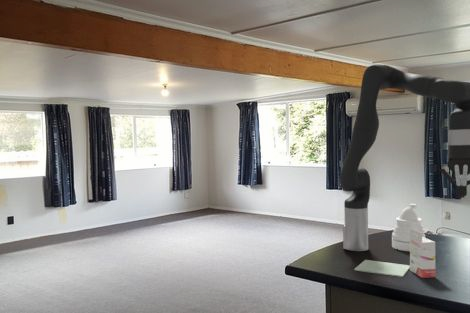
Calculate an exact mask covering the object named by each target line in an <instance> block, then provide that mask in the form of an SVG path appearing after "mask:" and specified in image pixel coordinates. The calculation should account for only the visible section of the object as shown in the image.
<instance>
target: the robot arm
mask: <svg viewBox="0 0 470 313" xmlns="http://www.w3.org/2000/svg"><path fill="white" fill-rule="evenodd" d="M385 89H386V90H388V89H389V90H390V89H399V90H404V91H407V92H411V93H413V94H415V95H418V96H422V97H426V98H430V99H431V98H432V99H438V100H441V101H444V102H446V103H447V102H448V103H450V104H454V108H453V111H452V112H450V114H449V116H448V135H447V136H448V138H447V141H448V142H447V144H448V151H447V152H448V161H447V163H446V165H445V166H444V167H442V168H440V170H439V171H440V172H441V174H442V175H443V177H445V178H446V180H447V181H448V182H449V183H450V184H451V185H455V186H456V196H458V198H460V199H462V198H465V196H467V193H468V187H467V186H469V185H470V179H469V180H468V178H469V175H470V82H469V81H461V80H453V79H444V78H441V77H439V76H434V75H433V76H432V75H425V74H419V73H411V72H408V71H403V70H400V69H398V68H395V67H393V66H390V65H388V64H369V65H368V66H367V67H366V69H365V70H364V72H363V75H362V80H361V86H360V95H359V96H360V97H359V101H358V107H357V112H356V116H355V120H354V123H353V128H352V133H351V139H350V143H349V146H348V150H347V152H346V156H345V159H344V162H343V165H342V169H341V172H340V176H339V184H340V185H339V186H340V187H341V189H342V190H343V191H345V192H352V194H351V195H350V196H349V197H347V198H346V199H345V200H344V204H343V205H344V225H343V226H342V241H343V242H342V244H343V246H342V247H343V248H342V249H343V250H347V251H352V252H365V251H368V250H369V210H368V209H369V208H368V207H369V206H368V205H369V202H370V196H371V176H370V173H369V171H368V170H367V169H366V168H363V167H360V165H361V162H362V159H363V158H364V157H365V156H366V154H367V153H368V152H369V150H370V149H371V148H372V146H374V143H375V142H376V139H377V135H378V132H379V128H380V127H379V126H380V119H379V113H378V111H377V103H378V102H377V100H378V96H379V93H380V90H385ZM450 171H451V173H453V174H454V175H455V179H454V178H453V177H452V175H453V174H452V175H451V174H450V173H449V172H450ZM461 176H462V177H461Z"/></svg>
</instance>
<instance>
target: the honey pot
mask: <svg viewBox="0 0 470 313" xmlns="http://www.w3.org/2000/svg"><path fill="white" fill-rule="evenodd" d="M416 208H417V203H410V204H409V206H407V207H405V208H403V209H402V211H401V212H400V214H399V215H398V216H399V217H396V218H395V220H396V223H395V225H394V228H393V231H392V233H391V247H392V248H393V249H395V250H397V249H398V250H399V251H404V252H410V232H411V229H413V230H416V231H418V232H420V233H422V237H425V238H426V234H425V232H424V230H423V229H424V228H423V226H422V222H423V219H422V218H421V217H419V216H418V215H417V213H416V212H415V209H416ZM414 235H415V236H417V237H418V235H417V234H414Z"/></svg>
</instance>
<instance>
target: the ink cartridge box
mask: <svg viewBox="0 0 470 313" xmlns="http://www.w3.org/2000/svg"><path fill="white" fill-rule="evenodd" d="M414 234H417V235H418V237H417V236H415V235H414ZM409 265H410V268H409V271H410V272H412V273H414V274H415V275H416V276H418V277H420V278H421V279H424V278H425V279H427V278H428V279H429V278H430V279H431V278H436V275H437V274H436V241H434V240H431V239H429V238H426V236H425V237H422V233H420V232H418V231H416V230H413V229H411V232H410V251H409Z"/></svg>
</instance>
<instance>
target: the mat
mask: <svg viewBox="0 0 470 313" xmlns="http://www.w3.org/2000/svg"><path fill="white" fill-rule="evenodd" d="M354 271H357V272H364V273H372V274H378V275H385V276H393V277H400V278H404V276H405V275H406V274H407V272H408V271H410V264H409V265H408V264H403V263H402V264H400V263H394V262H384V261H378V260H370V259H364V260H363V261H362V262H361V263H360V264H359V265H357V266H356V267H355V268H354Z"/></svg>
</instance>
